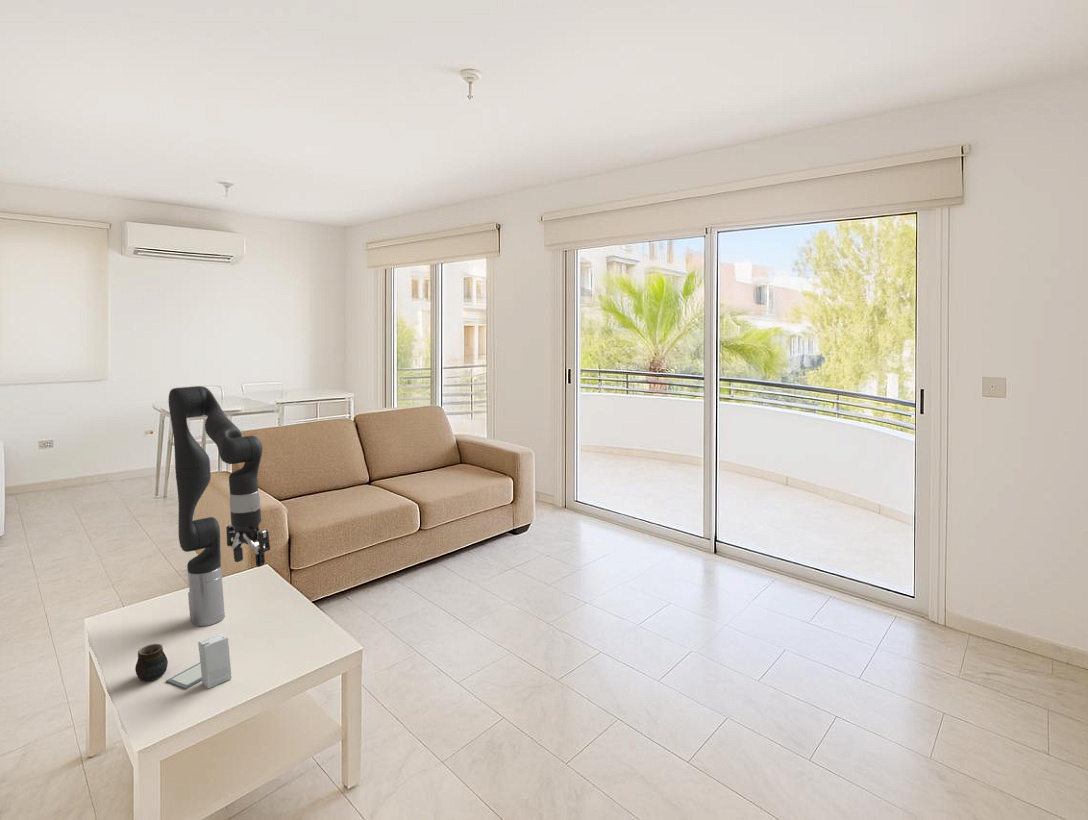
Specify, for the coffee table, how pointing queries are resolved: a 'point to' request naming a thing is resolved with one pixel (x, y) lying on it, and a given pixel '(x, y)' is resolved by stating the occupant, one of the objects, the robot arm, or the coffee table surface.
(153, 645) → the mate gourd
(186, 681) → the slate gray picture frame
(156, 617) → the coffee table surface
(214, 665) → the skincare box
